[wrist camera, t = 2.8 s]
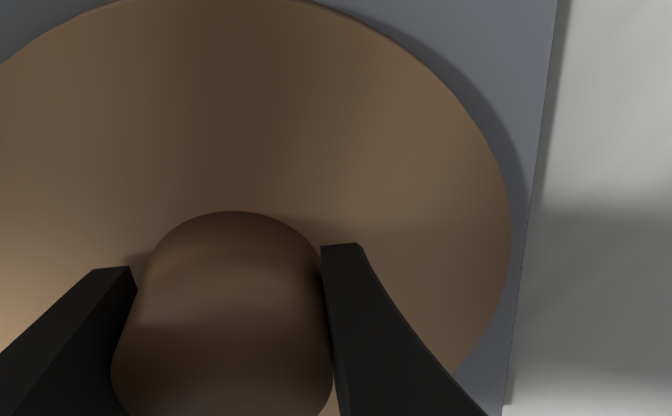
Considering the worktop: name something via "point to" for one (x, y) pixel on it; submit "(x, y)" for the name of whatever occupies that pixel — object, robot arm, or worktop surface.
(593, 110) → the worktop surface
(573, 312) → the worktop surface
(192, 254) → the walnut lid
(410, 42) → the rubber mat
